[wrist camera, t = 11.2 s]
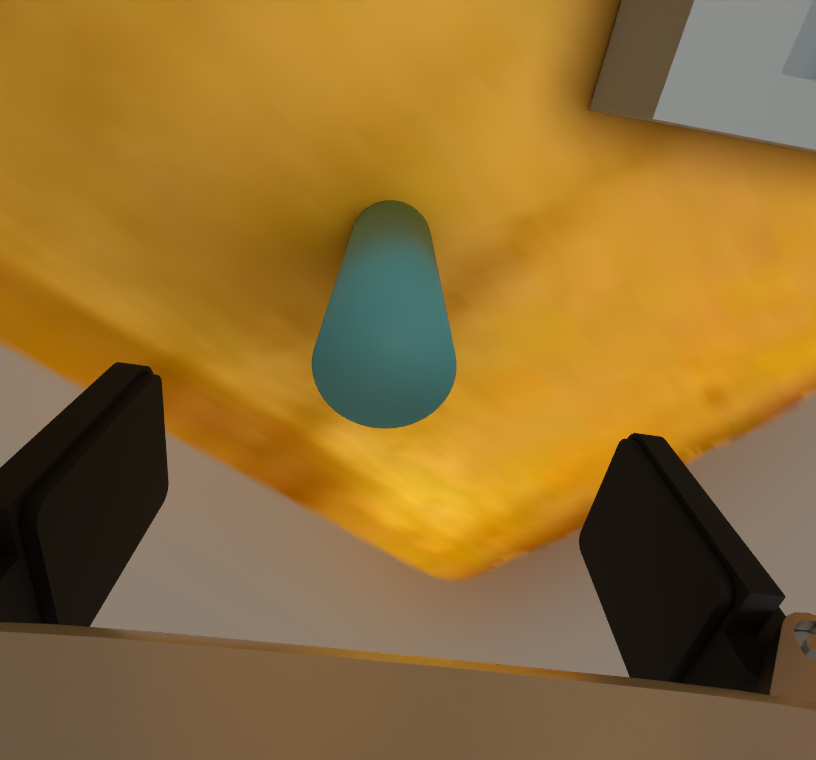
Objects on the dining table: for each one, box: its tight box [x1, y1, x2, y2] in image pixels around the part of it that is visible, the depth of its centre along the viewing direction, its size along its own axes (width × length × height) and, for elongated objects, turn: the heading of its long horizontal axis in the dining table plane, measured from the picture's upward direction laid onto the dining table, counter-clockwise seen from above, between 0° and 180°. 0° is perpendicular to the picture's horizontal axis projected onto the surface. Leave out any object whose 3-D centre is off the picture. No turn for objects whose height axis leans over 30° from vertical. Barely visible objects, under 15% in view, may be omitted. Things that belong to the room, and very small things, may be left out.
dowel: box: [312, 201, 456, 428], centre depth 18 cm, size 4×4×12 cm
